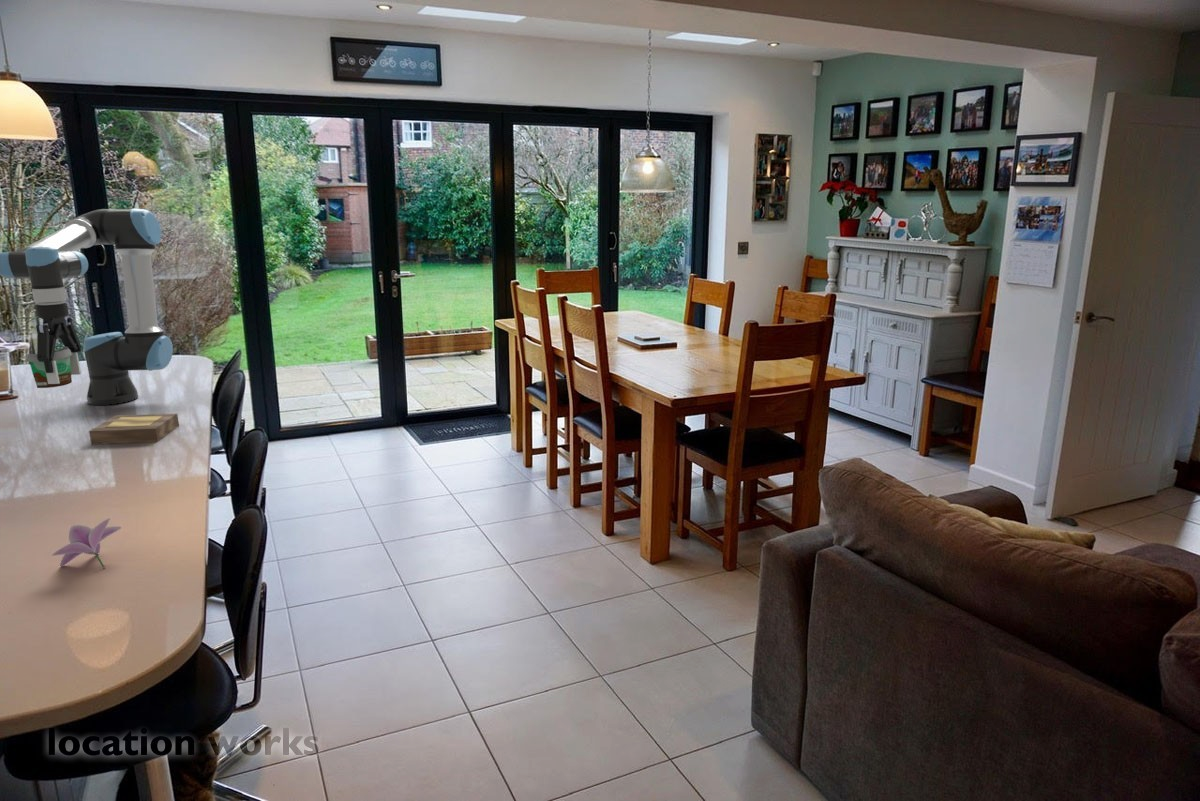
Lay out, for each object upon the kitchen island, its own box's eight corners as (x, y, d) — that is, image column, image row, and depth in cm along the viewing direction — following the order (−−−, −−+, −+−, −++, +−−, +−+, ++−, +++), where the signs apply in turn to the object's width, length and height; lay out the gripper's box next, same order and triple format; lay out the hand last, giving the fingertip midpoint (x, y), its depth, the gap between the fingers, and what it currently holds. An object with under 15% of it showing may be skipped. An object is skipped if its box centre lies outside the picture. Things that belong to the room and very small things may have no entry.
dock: (117, 428, 241) (115, 415, 240) (179, 425, 243) (177, 412, 242) (91, 444, 225) (88, 430, 224) (157, 441, 227) (155, 427, 226)
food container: (50, 390, 219) (43, 355, 217) (32, 389, 221) (25, 354, 218) (87, 379, 231) (81, 346, 228) (70, 378, 232) (64, 345, 229)
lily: (137, 552, 160) (112, 512, 159) (132, 552, 150) (106, 509, 149) (74, 585, 154) (48, 543, 154) (65, 588, 144) (37, 543, 143)
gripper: (59, 297, 232) (72, 370, 237) (11, 309, 209) (27, 389, 215) (86, 297, 232) (99, 369, 238) (41, 308, 210) (56, 388, 216)
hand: (65, 378), depth 226 cm, fingers closed on food container, 11 cm apart
